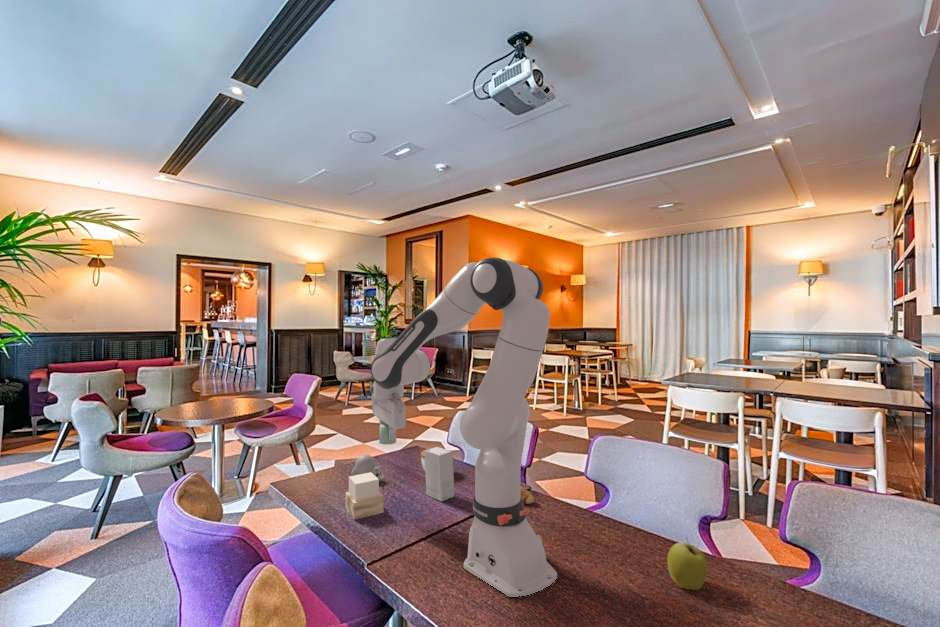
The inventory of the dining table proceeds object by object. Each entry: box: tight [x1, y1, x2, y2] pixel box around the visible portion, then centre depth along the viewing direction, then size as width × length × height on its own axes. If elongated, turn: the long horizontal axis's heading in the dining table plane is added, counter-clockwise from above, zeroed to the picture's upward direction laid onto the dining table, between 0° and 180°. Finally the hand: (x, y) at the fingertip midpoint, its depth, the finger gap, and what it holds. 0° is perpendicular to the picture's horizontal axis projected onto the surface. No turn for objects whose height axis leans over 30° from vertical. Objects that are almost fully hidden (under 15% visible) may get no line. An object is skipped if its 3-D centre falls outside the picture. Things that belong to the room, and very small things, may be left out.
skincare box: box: [424, 446, 455, 502], centre depth 137 cm, size 8×6×15 cm
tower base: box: [344, 491, 385, 521], centre depth 127 cm, size 9×9×5 cm
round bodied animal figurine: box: [351, 454, 384, 483], centre depth 150 cm, size 7×12×8 cm, turn 64°
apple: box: [667, 537, 709, 591], centre depth 91 cm, size 8×8×10 cm
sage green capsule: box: [378, 423, 397, 445], centre depth 126 cm, size 5×5×5 cm
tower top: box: [348, 472, 380, 502], centre depth 127 cm, size 7×7×5 cm
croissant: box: [521, 483, 535, 505], centre depth 136 cm, size 21×10×8 cm, turn 55°
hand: (387, 436), depth 126 cm, fingers closed on sage green capsule, 5 cm apart
